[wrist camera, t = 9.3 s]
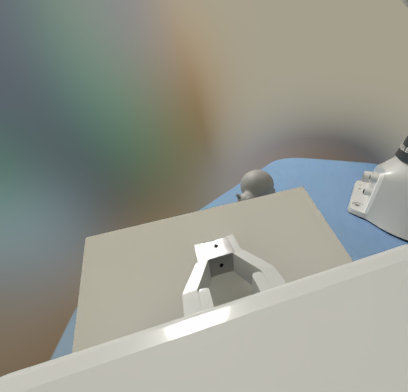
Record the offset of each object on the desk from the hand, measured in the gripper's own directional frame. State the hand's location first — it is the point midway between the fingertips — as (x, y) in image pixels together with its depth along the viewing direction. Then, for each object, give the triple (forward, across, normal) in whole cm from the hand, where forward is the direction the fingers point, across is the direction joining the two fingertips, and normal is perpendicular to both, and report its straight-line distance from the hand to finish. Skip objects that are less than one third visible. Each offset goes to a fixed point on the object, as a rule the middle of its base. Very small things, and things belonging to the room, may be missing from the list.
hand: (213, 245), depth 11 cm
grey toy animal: (+20, -14, +13) cm, 28 cm away
